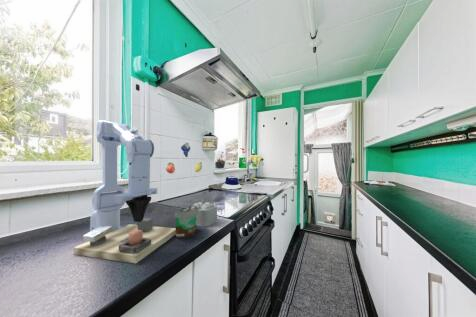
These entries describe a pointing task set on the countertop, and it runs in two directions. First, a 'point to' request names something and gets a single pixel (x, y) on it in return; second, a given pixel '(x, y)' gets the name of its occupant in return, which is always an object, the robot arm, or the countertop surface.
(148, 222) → the slider knob
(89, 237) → the rocker switch
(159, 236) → the control board
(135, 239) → the push button
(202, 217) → the lumpy-topped squat cylinder
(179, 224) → the food container
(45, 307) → the countertop surface
